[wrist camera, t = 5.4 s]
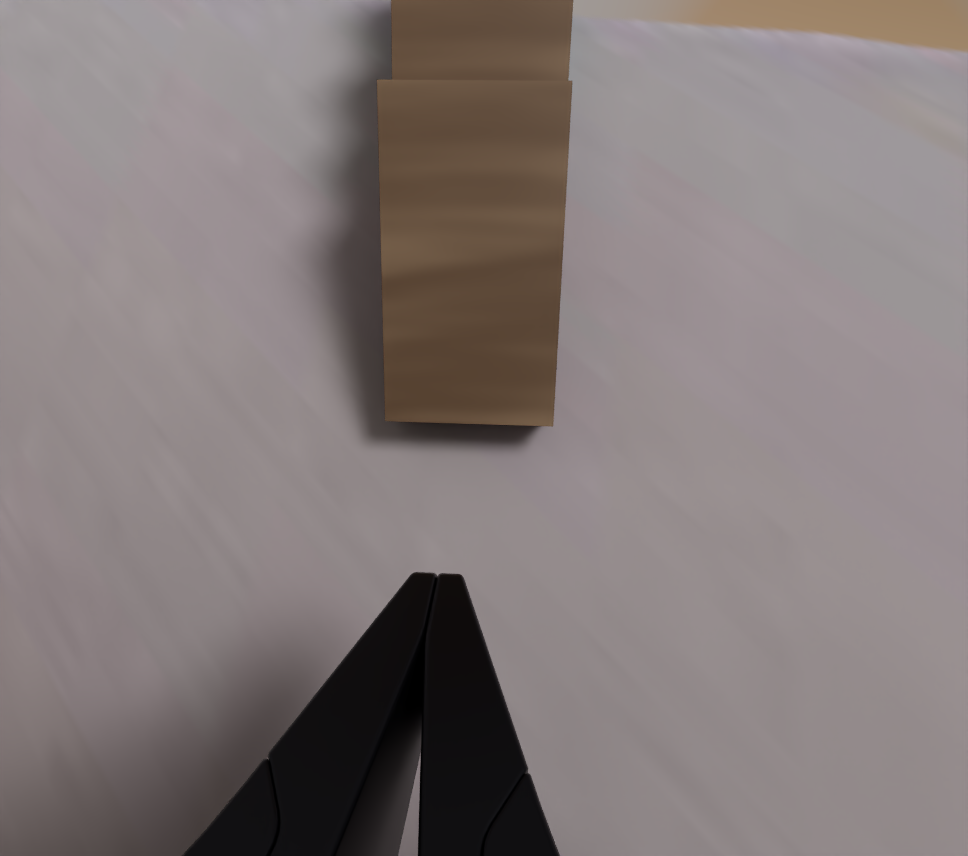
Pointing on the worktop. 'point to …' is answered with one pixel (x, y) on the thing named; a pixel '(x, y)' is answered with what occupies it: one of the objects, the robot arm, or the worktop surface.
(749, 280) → the worktop surface
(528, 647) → the worktop surface
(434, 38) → the domino
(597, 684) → the worktop surface
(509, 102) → the domino
